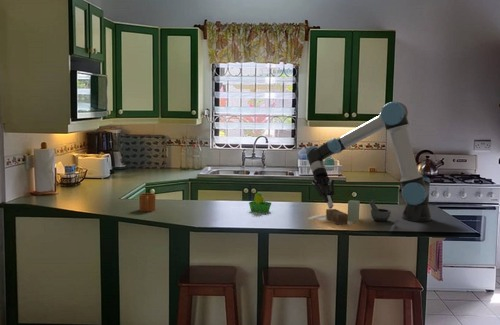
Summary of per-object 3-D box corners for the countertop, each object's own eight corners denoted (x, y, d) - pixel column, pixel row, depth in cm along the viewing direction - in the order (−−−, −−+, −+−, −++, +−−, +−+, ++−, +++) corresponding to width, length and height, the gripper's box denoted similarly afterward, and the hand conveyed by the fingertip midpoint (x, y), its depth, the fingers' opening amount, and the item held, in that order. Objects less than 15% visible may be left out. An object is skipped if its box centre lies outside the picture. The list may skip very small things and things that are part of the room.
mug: (135, 212, 291) (135, 196, 290) (142, 208, 303) (141, 193, 302) (151, 213, 290) (151, 196, 289) (157, 209, 302) (157, 193, 301)
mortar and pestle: (388, 222, 281) (389, 199, 279) (391, 225, 271) (392, 202, 270) (367, 220, 282) (368, 198, 281) (368, 224, 273) (369, 201, 272)
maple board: (360, 222, 277) (360, 220, 277) (350, 227, 265) (350, 224, 265) (318, 216, 289) (318, 214, 289) (307, 221, 278) (307, 218, 277)
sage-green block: (358, 219, 277) (359, 200, 276) (357, 221, 272) (357, 202, 271) (349, 218, 279) (350, 200, 278) (347, 220, 274) (348, 201, 273)
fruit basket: (271, 211, 302) (272, 191, 301) (265, 214, 294) (266, 193, 293) (253, 209, 307) (254, 189, 306) (247, 211, 299) (247, 192, 298)
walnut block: (326, 209, 278) (338, 214, 264) (335, 208, 279) (347, 214, 266) (325, 218, 278) (338, 224, 265) (334, 218, 280) (347, 224, 266)
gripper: (327, 175, 296) (340, 210, 282) (305, 175, 292) (317, 211, 278) (332, 166, 290) (345, 202, 276) (310, 167, 286) (322, 203, 272)
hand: (331, 207), depth 277 cm, fingers closed
